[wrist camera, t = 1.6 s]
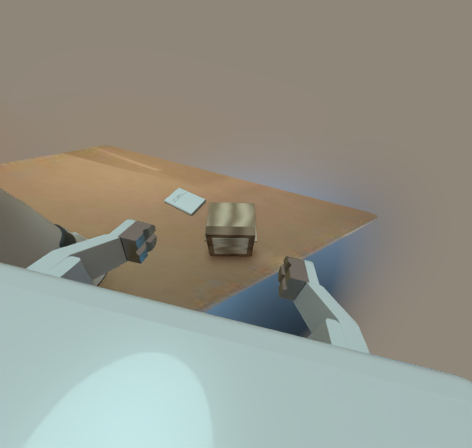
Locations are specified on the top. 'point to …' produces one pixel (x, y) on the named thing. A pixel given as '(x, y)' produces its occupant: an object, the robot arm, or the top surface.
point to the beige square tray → (232, 215)
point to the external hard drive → (185, 201)
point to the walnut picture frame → (230, 240)
